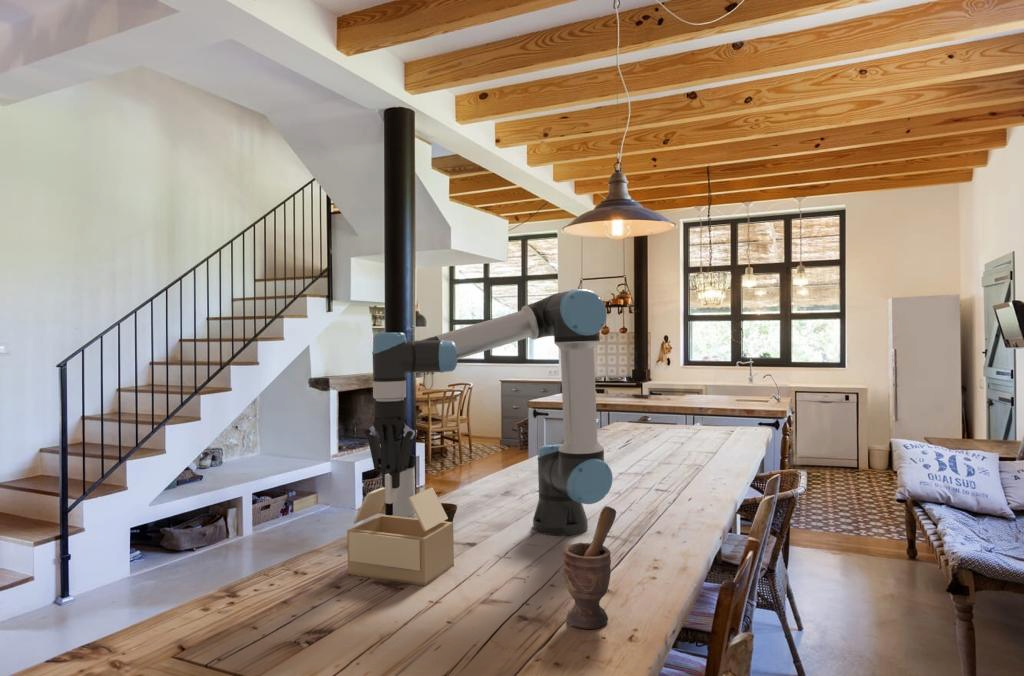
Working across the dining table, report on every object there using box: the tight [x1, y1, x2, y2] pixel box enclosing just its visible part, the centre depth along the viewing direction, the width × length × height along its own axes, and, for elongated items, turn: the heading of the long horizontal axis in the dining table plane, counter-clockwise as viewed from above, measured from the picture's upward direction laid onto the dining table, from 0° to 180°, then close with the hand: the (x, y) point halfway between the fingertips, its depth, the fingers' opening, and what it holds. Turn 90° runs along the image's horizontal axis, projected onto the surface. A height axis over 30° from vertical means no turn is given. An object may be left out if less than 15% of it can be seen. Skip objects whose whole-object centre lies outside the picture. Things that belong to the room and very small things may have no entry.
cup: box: [440, 502, 458, 523], centre depth 162 cm, size 9×9×10 cm
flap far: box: [352, 486, 386, 525], centre depth 146 cm, size 10×1×8 cm, turn 158°
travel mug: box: [392, 454, 416, 518], centre depth 177 cm, size 6×7×20 cm
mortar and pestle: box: [562, 505, 617, 630], centre depth 117 cm, size 12×9×20 cm
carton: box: [346, 514, 455, 587], centre depth 143 cm, size 20×14×10 cm
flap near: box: [408, 486, 448, 532], centre depth 140 cm, size 10×1×8 cm
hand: (391, 501), depth 144 cm, fingers closed
